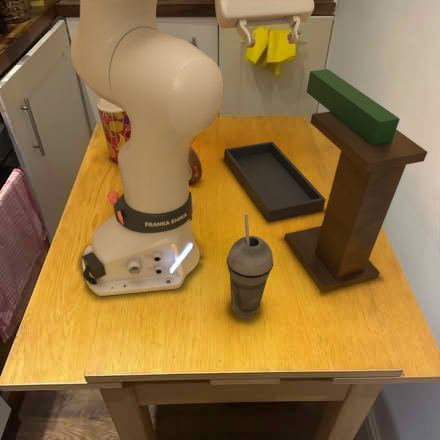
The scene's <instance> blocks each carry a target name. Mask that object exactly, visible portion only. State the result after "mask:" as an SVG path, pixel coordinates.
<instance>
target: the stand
mask: <svg viewBox="0 0 440 440" xmlns="http://www.w3.org/2000/svg"><path fill="white" fill-rule="evenodd" d="M310 124H311V125H312V126H313V127H314V128H315V129H317V130H318V131H319V132H320V133H321V134H322V135H323V136H324V137H325V138H326V139H328V140H329V141H330V142H331V143H332V144H333V145H334V146H335V147H337V148H338V149H339V150H340V152H339V153H340V154H339V157H338V161H337V165H336V168H335V172H334V177H333V181H332V185H331V188H330V192H329V195H328V199H327V203H326V208H325V211H324V215H323V219H322V222H321V225H319V226H315V227H311V228H310V227H309V228H306V229H301V230H295V231H292V232H287V233H285V234H284V242H285V243H286V244H287V245H288V247H289V248H290V249H291V251H292V253H293V254H294V255H295V256H296V258H297V259H298V261H299V262H300V264H301V265H302V267H303V268H304V269H305V271H306V272H307V273H308V274H309V276H310V278H311V280H313V282H314V283H315V284H316V286H317V288H318V289H319V290H320V292H321V293H328V292H332V291H335V290H339V289H341V288H342V289H343V288H346V287H350V286H354V285H358V284H361V283H364V282H368V281H372V280H375V279H378V278H379V276H380V274H381V272H380V271H379V270H378V269H377V267H376V266H375V265H374V264H373V262H372V261H370V258H371V255H372V252H373V250H374V248H375V245H376V242H377V240H378V237H379V235H380V232H381V230H382V227H383V224H384V222H385V220H386V217H387V214H388V212H389V209H390V207H391V204H392V202H393V199H394V197H395V194H396V192H397V189H398V187H399V184H400V183H401V182H400V181H401V179H402V177H403V174H404V171H405V169H406V167H407V165H411V164H417V163H422V162H424V161H425V159H426V157H427V155H428V153H429V151H427V150H426V149H424V148H423V147H421V146H420V145H419V144H418V143H416V142H415V141H413V140H412V139H410V138H409V137H408V136H407V135H405V134H404V133H402V132H401V131H399V130H398V128H397V129H396V131H395V134H394V137H393V140H392V142H389V143H383V144H377V145H371V144H370V143H368V142H367V141H366V140H365V139H363V138H362V137H361V136H360V135H359V134H357V133H356V132H355V131H354V130H352V129H351V128H350V127H349V126H347V125H346V124H345V123H344V122H343V121H341V120H340V119H339V118H338V117H336V116H335V115H334V114H333V113H331V112H330V111H329V110H328V111H325V112H324V111H323V112H315V113H312V114H311V118H310Z"/></svg>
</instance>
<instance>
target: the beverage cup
mask: <svg viewBox="0 0 440 440" xmlns="http://www.w3.org/2000/svg"><path fill="white" fill-rule="evenodd" d="M243 216H244V233H245V234H244V235H245V236H242V237H240V238H238V239H237V240H236V241H235V242H234V243H233V244H232V245H231V247H230V249H229V251H228V254H227V256H226V265H227V269H228V274H229V284H230V287H229V288H230V301H231V311H232V313H233V315H234V316H235V317H236V318H238V319H242V320H250V319H253V318H255V317H256V315H257V314H258V312H259V309H260V306H261V303H262V299H263V296H264V292H265V288H266V285H267V281H268V279H269V276H270V273H271V271H272V269H273V267H274V259H273V251H272V249H271V247H270V245H269V243H267V242H266V241H265V240H264V239H263V238H261V237H258V236H255V235H250V228H249V227H250V226H249V215H248V214H244V215H243Z"/></svg>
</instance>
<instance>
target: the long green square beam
mask: <svg viewBox="0 0 440 440" xmlns="http://www.w3.org/2000/svg"><path fill="white" fill-rule="evenodd" d="M306 94H308V95H309V96H310V97H312V98H313V99H314V100H315V101H317V103H319V104H320V105H321V106H323V107H324V108H325V109H326V110H328V112H329V111H330V112H331V113H333V114H334V115H335V116H336V117H338V118H339V119H340V120H341V121H343V122H344V123H345V124H346V125H347V126H349V127H350V128H351V129H352V130H354V131H355V132H356V133H357V134H359V135H360V136H361V137H362V138H363V139H365V140H366V141H367V142H368V143H370V144H371V145H377V144H383V143H389V142H392V140H393V137H394V134H395V131H396V129H397V130H398V125H399V123H400V119H401V118H400V117H398V116H397V115H395V114H394V113H392V112H391V111H389V109H386V108H385V107H384V106H382V105H380V104H379V103H378V102H377V101H375V100H374V99H373V98H371V97H370V96H368V95H367V94H365V93H363V92H362V91H361V90H359V89H358V88H356V87H355V86H353V85H351V84H350V83H349V82H347V81H346V80H345V79H343V78H342V77H340V76H339V75H337V74H336V73H334V72H333V71H331V70H330V69H329V68H326V69H318V70H310V71H309V76H308V81H307V86H306Z"/></svg>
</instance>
